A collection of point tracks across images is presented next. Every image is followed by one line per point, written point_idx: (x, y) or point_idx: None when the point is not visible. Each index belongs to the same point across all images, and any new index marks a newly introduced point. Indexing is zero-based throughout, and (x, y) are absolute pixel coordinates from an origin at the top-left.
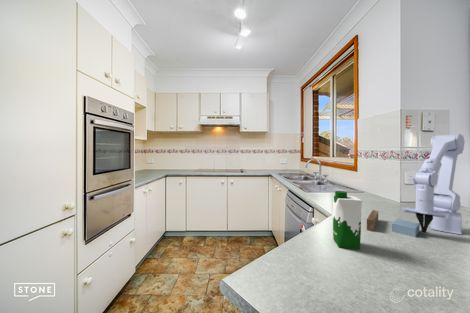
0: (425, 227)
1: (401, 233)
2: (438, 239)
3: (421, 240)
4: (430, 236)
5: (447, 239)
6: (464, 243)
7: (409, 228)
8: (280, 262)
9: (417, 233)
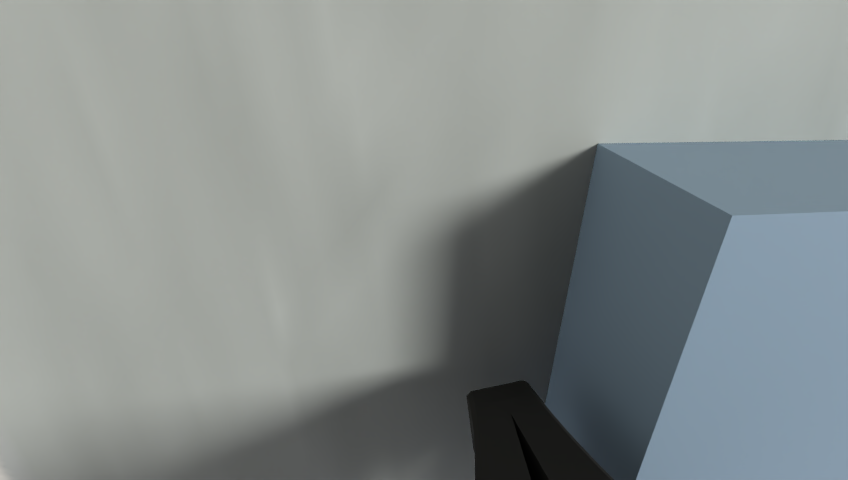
0: (510, 473)
1: (802, 141)
2: (294, 343)
3: (505, 15)
4: (403, 387)
5: (211, 441)
6: (6, 456)
7: (821, 197)
8: None
9: (563, 350)
